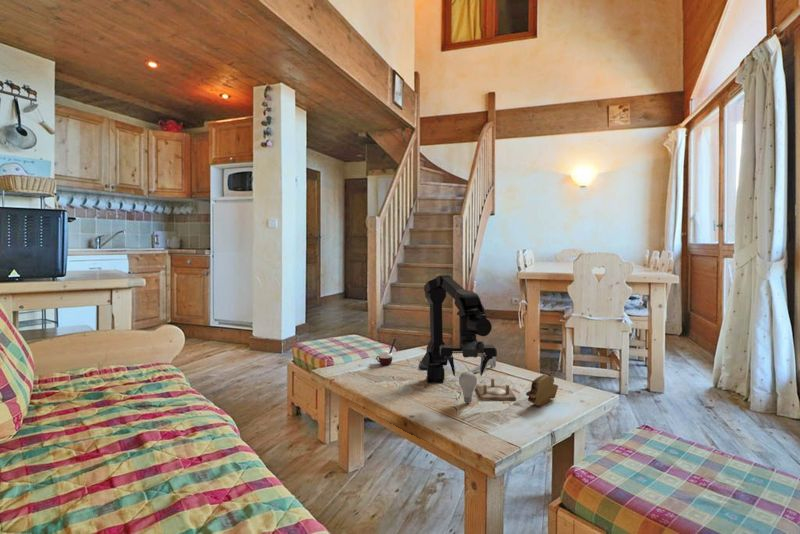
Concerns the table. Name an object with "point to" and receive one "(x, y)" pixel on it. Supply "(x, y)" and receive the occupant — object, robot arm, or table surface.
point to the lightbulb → (467, 385)
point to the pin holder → (495, 392)
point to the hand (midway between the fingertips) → (467, 375)
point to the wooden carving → (542, 390)
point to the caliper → (491, 362)
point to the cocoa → (386, 356)
